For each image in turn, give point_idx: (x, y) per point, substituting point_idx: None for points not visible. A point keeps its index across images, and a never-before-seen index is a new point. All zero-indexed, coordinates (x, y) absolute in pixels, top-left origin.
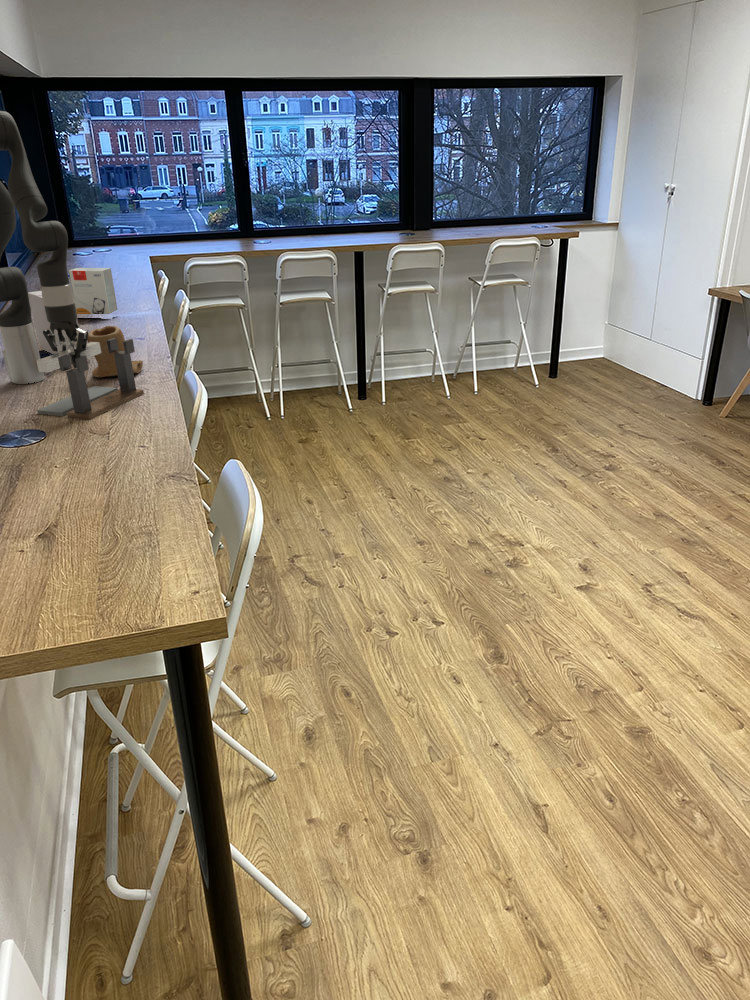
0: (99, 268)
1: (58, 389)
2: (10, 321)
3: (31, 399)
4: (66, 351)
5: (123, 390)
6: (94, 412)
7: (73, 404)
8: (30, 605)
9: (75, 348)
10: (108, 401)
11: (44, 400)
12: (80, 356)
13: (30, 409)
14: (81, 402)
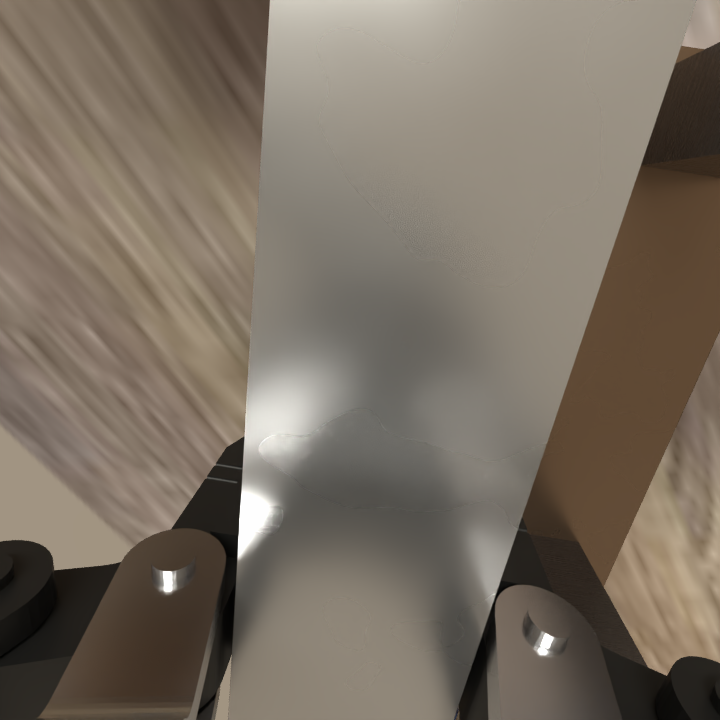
0: None
1: (17, 58)
2: None
3: (33, 317)
4: (310, 694)
5: (676, 168)
6: (610, 570)
7: None
8: None
9: (497, 704)
10: (623, 398)
11: (129, 327)
12: (544, 575)
13: (177, 476)
14: None
